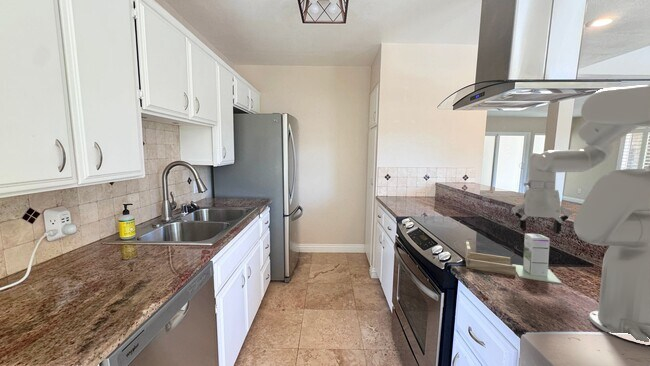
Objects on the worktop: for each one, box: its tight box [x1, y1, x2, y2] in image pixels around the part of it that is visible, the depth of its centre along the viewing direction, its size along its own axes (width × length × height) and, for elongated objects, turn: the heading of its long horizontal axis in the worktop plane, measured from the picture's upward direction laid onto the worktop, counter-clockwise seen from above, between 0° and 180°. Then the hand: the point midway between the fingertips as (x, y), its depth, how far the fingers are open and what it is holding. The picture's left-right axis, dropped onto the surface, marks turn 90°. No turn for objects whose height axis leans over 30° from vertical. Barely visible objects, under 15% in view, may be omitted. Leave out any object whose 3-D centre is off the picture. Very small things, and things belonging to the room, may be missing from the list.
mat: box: [511, 263, 562, 285], centre depth 96 cm, size 12×12×1 cm
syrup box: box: [522, 233, 551, 277], centre depth 96 cm, size 6×6×14 cm
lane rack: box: [464, 241, 517, 276], centre depth 103 cm, size 10×16×8 cm, turn 64°
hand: (539, 231), depth 94 cm, fingers open, 9 cm apart
